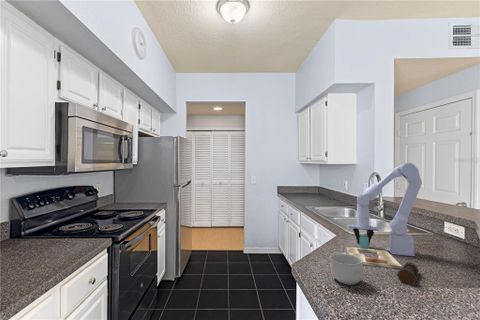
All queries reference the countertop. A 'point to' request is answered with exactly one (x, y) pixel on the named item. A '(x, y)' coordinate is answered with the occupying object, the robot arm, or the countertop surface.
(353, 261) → the teacup
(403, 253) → the robot arm
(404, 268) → the bolt
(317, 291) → the countertop surface
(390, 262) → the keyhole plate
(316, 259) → the countertop surface
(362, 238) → the slider block
